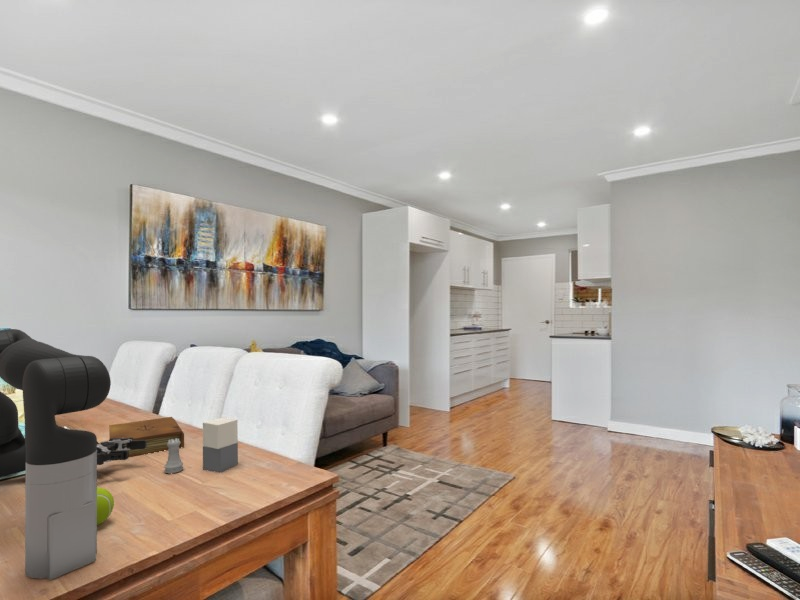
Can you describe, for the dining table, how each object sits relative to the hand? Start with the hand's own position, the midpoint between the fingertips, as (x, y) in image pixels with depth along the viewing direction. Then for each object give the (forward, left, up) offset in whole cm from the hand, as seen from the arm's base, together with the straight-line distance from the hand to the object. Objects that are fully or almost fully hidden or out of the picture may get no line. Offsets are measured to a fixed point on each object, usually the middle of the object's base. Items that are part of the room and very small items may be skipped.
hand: (137, 449), depth 110 cm
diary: (+24, -14, -7) cm, 28 cm away
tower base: (-15, -14, -6) cm, 21 cm away
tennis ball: (-22, +18, -6) cm, 29 cm away
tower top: (-15, -14, 0) cm, 20 cm away
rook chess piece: (-7, -6, -6) cm, 11 cm away
